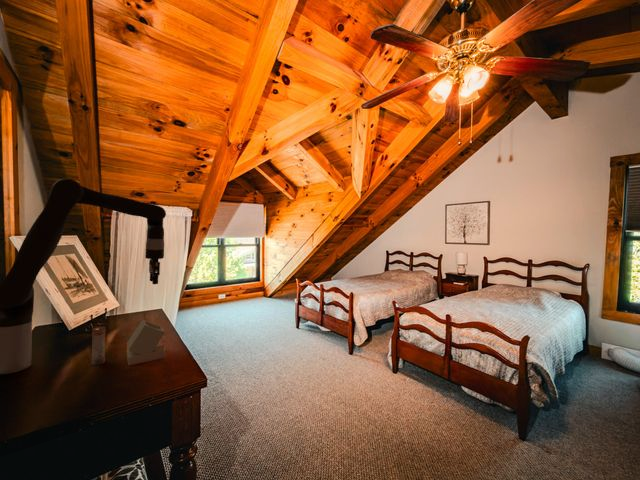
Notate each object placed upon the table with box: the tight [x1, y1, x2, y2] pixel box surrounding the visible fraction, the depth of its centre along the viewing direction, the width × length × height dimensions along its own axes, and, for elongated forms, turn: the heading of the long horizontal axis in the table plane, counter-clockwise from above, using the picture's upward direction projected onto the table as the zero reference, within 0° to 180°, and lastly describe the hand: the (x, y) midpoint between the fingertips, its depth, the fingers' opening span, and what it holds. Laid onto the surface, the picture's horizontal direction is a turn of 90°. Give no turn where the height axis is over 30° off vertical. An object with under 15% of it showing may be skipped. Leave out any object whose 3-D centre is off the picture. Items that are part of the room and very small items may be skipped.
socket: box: [126, 319, 167, 366], centre depth 119 cm, size 13×11×15 cm
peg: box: [91, 326, 107, 366], centre depth 111 cm, size 4×4×14 cm
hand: (153, 282), depth 132 cm, fingers open, 8 cm apart
